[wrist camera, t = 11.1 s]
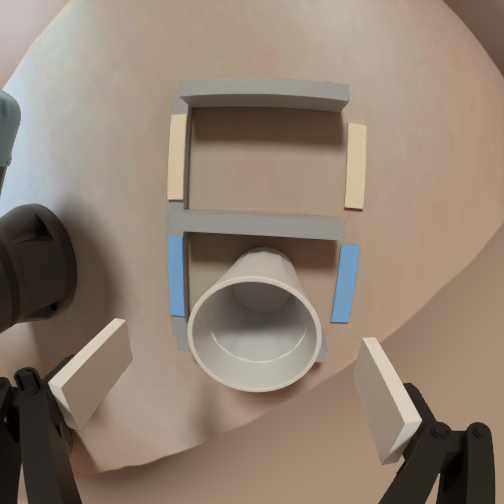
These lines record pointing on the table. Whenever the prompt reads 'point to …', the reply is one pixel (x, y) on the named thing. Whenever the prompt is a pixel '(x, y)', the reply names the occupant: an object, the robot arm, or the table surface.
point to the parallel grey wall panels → (256, 223)
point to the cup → (256, 325)
